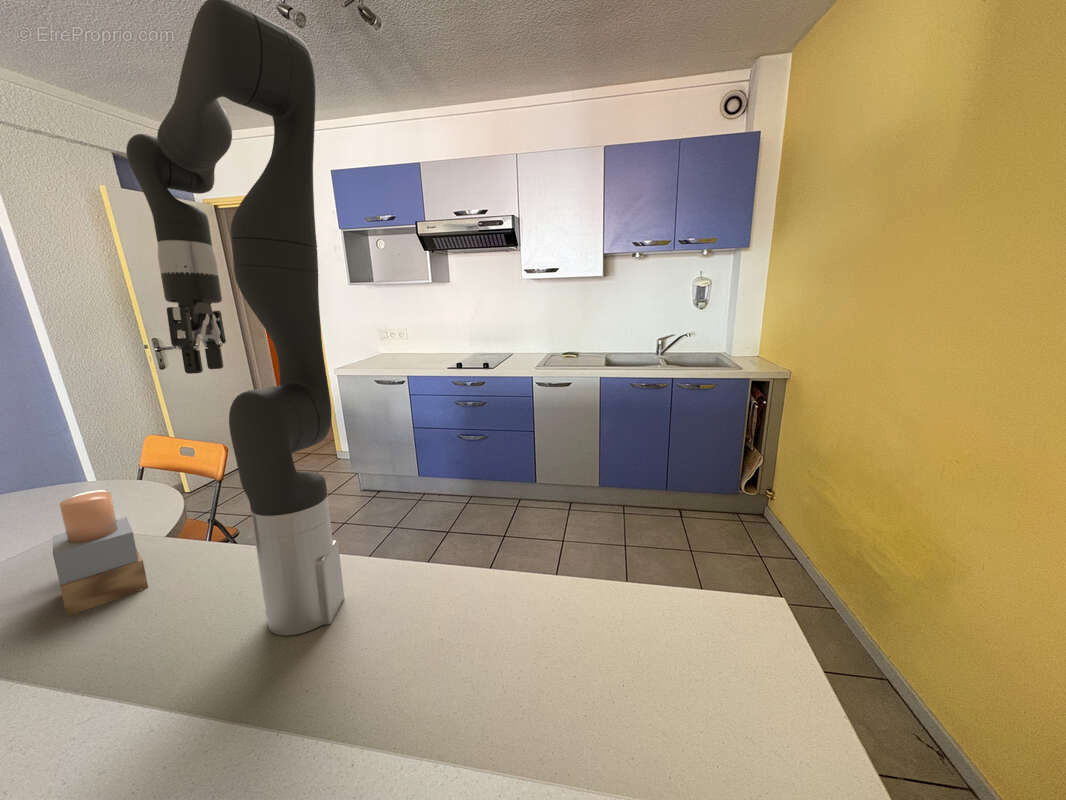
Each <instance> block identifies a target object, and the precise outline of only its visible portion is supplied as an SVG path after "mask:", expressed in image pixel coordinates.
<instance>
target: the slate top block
mask: <svg viewBox="0 0 1066 800" xmlns="http://www.w3.org/2000/svg"><path fill="white" fill-rule="evenodd" d="M116 522H117V527H118V529H117V530H116V531H115V532H114V533H112V534H110V535H108V536H105V537H103V538H100V539H96V540H93V541H88V542H83V543H69V542H68V539H67V535H66V532H64V533H63V532H62V533H59V534H55V535H52V556H53V561H54V565H55V569H56V573H57V576H58V577H57V578H58V582H59V587H60V586H61V585H64V584H67V583H70V582H74V581H77V580H80V579H83V578H86V577H90V576H93V575H96V574H99V573H102V572H105V571H109V570H112V569H115V568H118V567H121V566H124V565H128V564H131V563H134V562H137V561H139V560H138V555H137V550H138V549H137V546H136V541H135V537H134V532H133V530H132V529H133V528H132V527H131V524H130V522H129V520H128V518H127V516H126V517H122V518H118V519H116ZM136 549H137V550H136Z"/></svg>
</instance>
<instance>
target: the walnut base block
mask: <svg viewBox="0 0 1066 800" xmlns="http://www.w3.org/2000/svg"><path fill="white" fill-rule="evenodd" d="M136 550H137V555H138V560H139V561H137V562H134V563H131V564H128V565H124V566H121V567H118V568H115V569H112V570H109V571H105V572H102V573H99V574H96V575H93V576H90V577H86V578H83V579H80V580H77V581H74V582H70V583H67V584H64V585H61V586H60V585H59V588H60V592H61V596H62V600H63V605H64V608H65V609H64V610H65V612H66V616H67V617H71V616H73V615H76V614H78V613H81V612H84V611H87V610H89V609H92V608H95V607H99V606H101V605H103V604H106V603H109V602H112V601H114V600H117V599H119V598H122V597H125V596H128V595H131V594H133V593H134V594H135V593H137V592H139V591H138V590H140V591H142V590H144V589H147V588H149V584H148V579H147V574H146V569H145V563H144V560H143V558H142V556H141V555H140V553H139V551H138V549H137V548H136ZM141 589H142V590H141ZM136 591H137V592H136Z"/></svg>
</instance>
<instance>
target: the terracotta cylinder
mask: <svg viewBox="0 0 1066 800" xmlns="http://www.w3.org/2000/svg"><path fill="white" fill-rule="evenodd" d="M74 496H75V495H74ZM71 497H72V498H71ZM71 497H69V498H67V499H65V500H63V501H60V503H59V507H60V512H61V517H62V521H63V524H64V525H63V526H64V531H65V533H66V535H67V539H68V542H69V543H83V542H88V541H93V540H96V539H100V538H103V537H105V536H108V535H110V534H112V533H114V532H115V531H116V530H117V529H118V527H117V522H116V520H117V519H116V518H117V517H116V513H115V509H114V502H113V499H112V494H111V492H109V491H106V492H94V493H88V494H83V495H79V496H75V497H73V496H71Z"/></svg>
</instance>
